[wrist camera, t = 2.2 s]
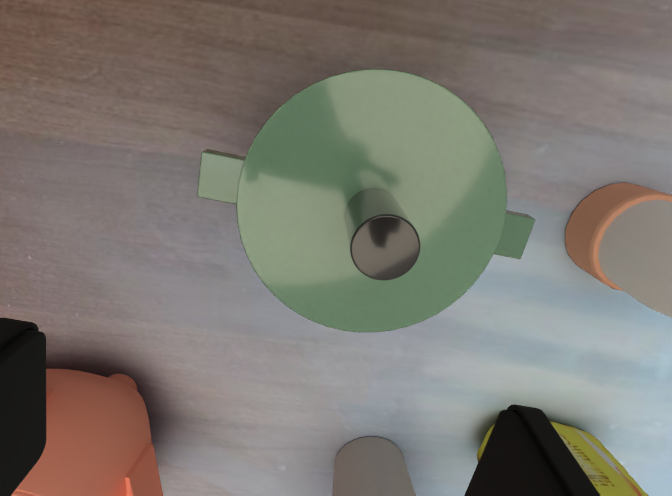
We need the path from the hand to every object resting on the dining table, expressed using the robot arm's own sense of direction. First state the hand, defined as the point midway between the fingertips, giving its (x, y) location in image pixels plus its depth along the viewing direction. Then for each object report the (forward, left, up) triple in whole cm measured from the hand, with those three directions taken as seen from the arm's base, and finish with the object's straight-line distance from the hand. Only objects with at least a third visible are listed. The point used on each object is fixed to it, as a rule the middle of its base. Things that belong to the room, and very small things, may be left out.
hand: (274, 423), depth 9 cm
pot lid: (-1, +3, -14) cm, 15 cm away
